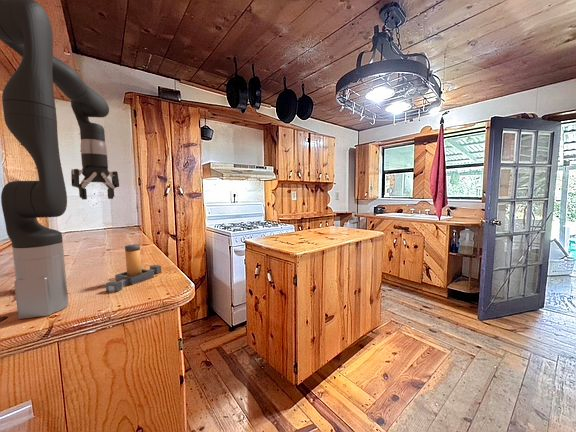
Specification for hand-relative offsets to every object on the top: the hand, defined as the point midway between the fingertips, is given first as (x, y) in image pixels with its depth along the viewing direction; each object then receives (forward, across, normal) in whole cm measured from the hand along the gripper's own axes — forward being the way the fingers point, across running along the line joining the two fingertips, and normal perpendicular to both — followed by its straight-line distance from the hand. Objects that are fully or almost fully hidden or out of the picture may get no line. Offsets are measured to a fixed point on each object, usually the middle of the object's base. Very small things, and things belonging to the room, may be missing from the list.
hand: (98, 199), depth 94 cm
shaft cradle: (+28, +1, -18) cm, 33 cm away
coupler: (+28, +1, -17) cm, 33 cm away
